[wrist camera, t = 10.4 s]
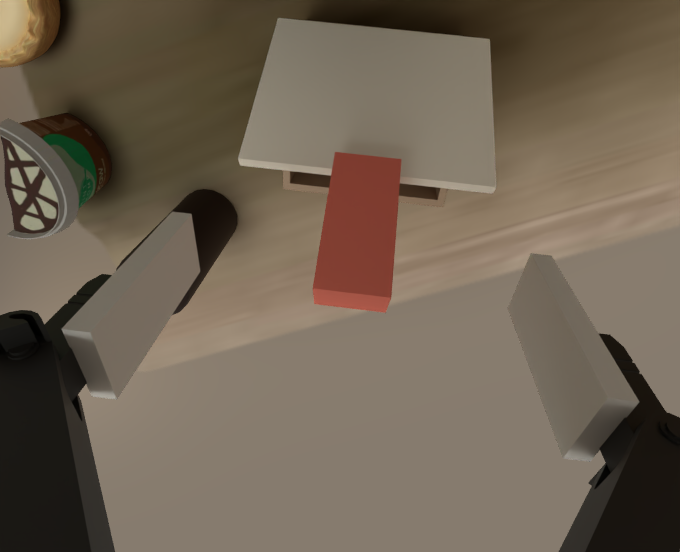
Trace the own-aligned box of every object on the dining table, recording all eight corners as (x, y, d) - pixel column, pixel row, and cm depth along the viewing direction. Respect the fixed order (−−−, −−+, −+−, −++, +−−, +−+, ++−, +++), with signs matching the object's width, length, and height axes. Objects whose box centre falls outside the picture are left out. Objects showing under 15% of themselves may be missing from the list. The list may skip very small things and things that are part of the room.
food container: (120, 216, 50) (68, 260, 42) (70, 199, 50) (7, 239, 42) (124, 121, 43) (62, 151, 35) (66, 99, 43) (-11, 124, 35)
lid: (279, 26, 28) (275, -4, 26) (486, 47, 28) (497, 18, 26) (205, 290, 20) (192, 273, 18) (497, 326, 20) (515, 312, 18)
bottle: (172, 197, 48) (61, 302, 32) (220, 181, 46) (129, 283, 30) (202, 244, 52) (115, 360, 35) (248, 230, 50) (179, 346, 34)
